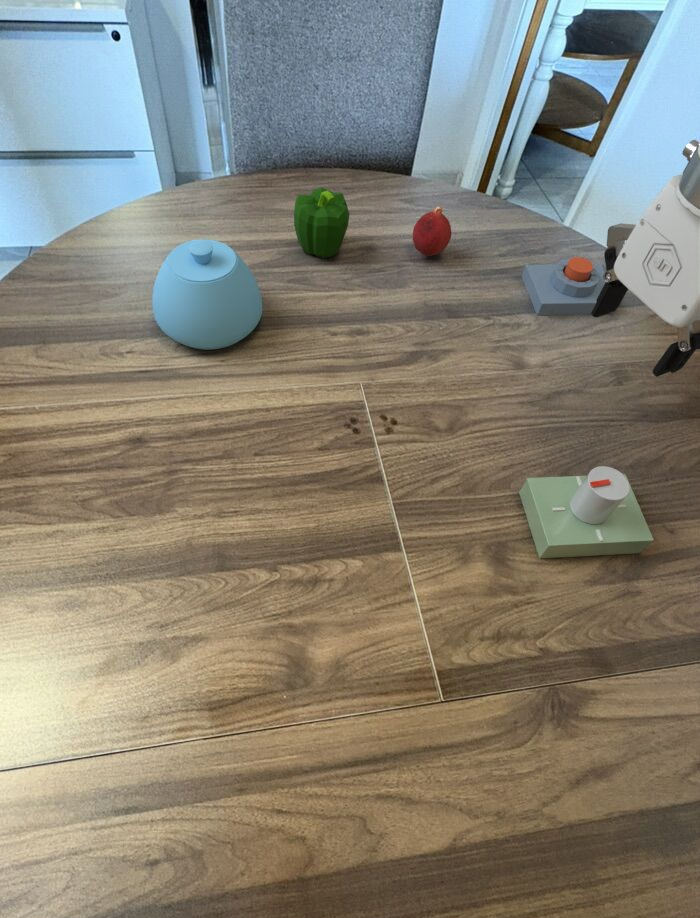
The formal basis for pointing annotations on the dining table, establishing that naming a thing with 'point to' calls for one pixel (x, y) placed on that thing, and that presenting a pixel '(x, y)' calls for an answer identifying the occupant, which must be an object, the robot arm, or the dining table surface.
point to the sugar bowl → (206, 296)
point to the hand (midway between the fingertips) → (632, 341)
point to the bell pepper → (321, 222)
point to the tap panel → (579, 522)
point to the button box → (562, 289)
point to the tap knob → (599, 495)
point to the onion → (432, 233)
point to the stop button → (578, 269)
